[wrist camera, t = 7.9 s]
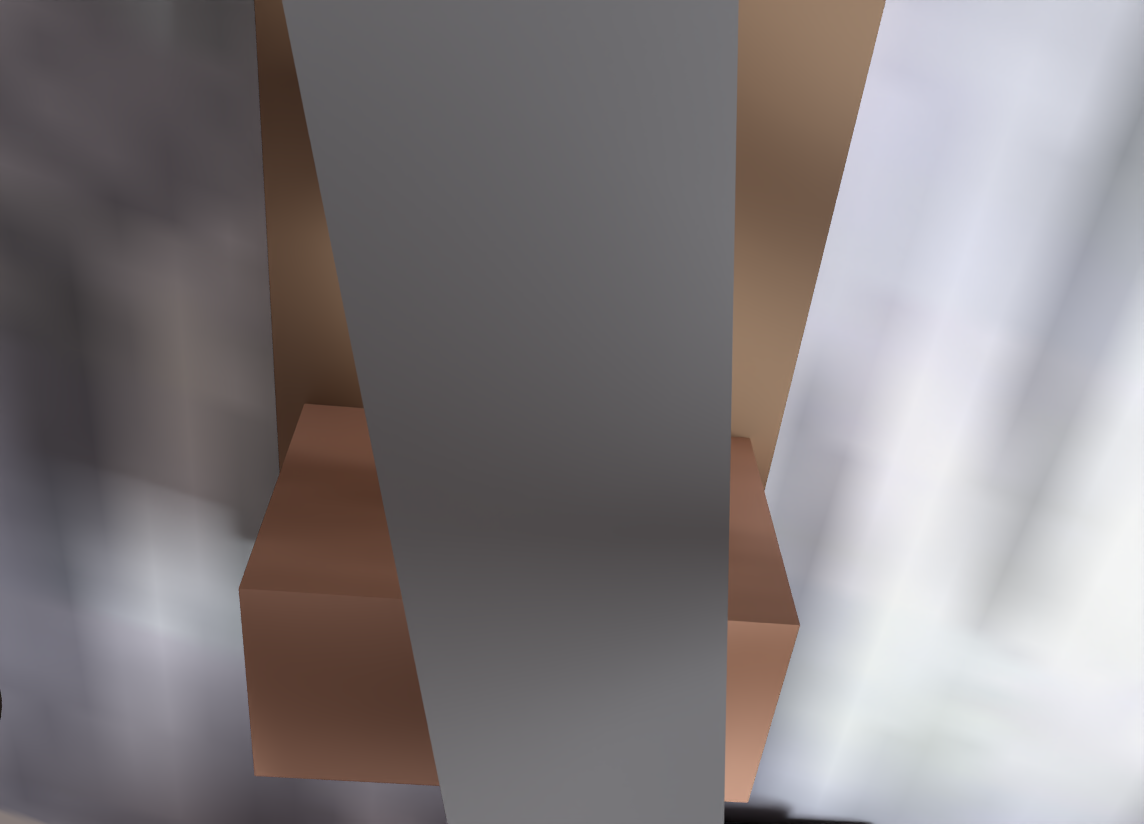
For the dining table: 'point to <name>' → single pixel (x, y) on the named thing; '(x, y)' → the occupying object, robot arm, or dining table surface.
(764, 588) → the display stand
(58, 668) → the dining table surface
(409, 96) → the grey long bar
